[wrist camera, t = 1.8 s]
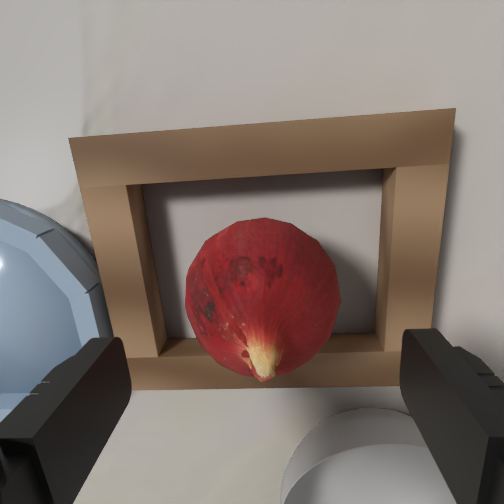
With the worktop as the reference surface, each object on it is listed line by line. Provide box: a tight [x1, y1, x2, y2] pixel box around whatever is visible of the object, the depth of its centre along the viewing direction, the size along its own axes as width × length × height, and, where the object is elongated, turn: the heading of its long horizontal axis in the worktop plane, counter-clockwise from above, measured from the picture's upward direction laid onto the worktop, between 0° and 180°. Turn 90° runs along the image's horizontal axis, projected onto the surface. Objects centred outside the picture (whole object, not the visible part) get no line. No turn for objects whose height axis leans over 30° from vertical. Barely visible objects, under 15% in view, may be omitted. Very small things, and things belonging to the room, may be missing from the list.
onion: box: [185, 218, 341, 382], centre depth 13 cm, size 6×6×8 cm
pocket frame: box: [68, 108, 456, 390], centre depth 16 cm, size 12×15×2 cm
